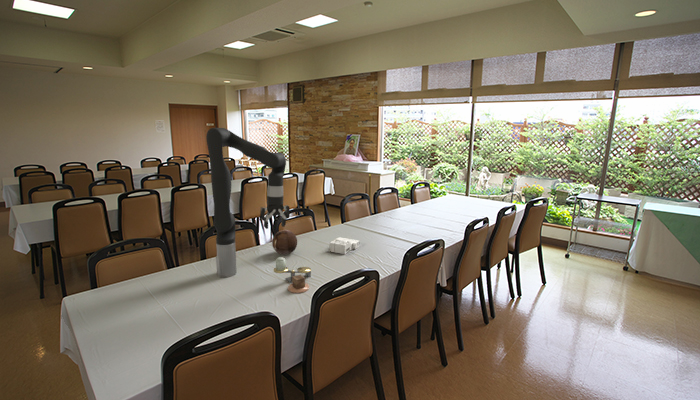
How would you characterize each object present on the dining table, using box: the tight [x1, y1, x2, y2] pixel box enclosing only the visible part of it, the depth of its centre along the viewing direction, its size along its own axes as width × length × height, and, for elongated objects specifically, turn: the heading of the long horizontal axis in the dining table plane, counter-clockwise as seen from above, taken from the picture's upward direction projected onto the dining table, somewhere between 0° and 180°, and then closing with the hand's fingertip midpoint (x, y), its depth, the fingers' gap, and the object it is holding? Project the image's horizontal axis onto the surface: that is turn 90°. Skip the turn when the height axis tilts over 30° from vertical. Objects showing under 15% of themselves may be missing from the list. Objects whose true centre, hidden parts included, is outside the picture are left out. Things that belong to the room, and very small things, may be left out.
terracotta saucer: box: [287, 282, 310, 294], centre depth 167 cm, size 10×10×1 cm
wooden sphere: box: [271, 229, 298, 256], centre depth 211 cm, size 15×15×15 cm
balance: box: [273, 266, 312, 284], centre depth 175 cm, size 20×7×7 cm, turn 126°
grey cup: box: [275, 256, 287, 271], centre depth 170 cm, size 5×5×6 cm
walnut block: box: [291, 273, 306, 290], centre depth 166 cm, size 4×4×5 cm
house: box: [329, 237, 361, 255], centre depth 222 cm, size 22×18×6 cm
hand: (274, 227), depth 168 cm, fingers open, 8 cm apart
